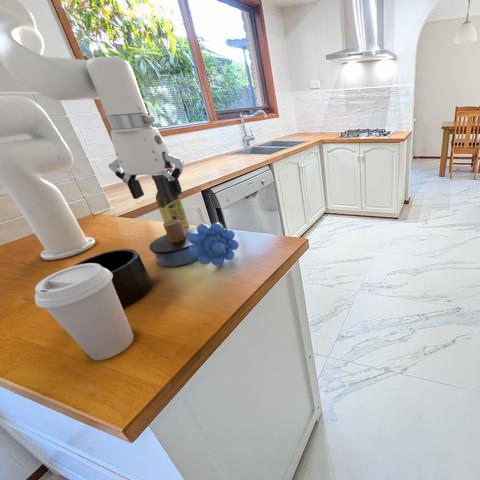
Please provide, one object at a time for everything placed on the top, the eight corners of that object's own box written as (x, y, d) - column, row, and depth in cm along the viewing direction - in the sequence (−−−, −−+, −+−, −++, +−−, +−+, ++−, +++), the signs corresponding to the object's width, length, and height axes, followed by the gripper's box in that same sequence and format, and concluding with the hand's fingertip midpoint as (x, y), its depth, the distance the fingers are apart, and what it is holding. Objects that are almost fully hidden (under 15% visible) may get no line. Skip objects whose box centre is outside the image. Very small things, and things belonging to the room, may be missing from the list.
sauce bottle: (182, 240, 89) (158, 177, 80) (165, 239, 90) (139, 177, 81) (196, 231, 95) (175, 170, 86) (180, 230, 96) (157, 171, 87)
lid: (138, 252, 75) (128, 231, 72) (181, 230, 86) (174, 210, 83) (177, 258, 71) (168, 236, 68) (217, 234, 82) (211, 214, 79)
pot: (71, 308, 62) (50, 275, 58) (128, 275, 73) (112, 246, 69) (110, 319, 58) (90, 285, 54) (164, 283, 69) (150, 252, 65)
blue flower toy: (204, 281, 68) (187, 236, 63) (193, 271, 72) (177, 228, 67) (249, 261, 75) (237, 218, 70) (237, 252, 80) (225, 212, 74)
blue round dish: (147, 264, 77) (140, 249, 75) (185, 242, 88) (180, 229, 86) (182, 270, 73) (176, 255, 71) (218, 247, 84) (213, 233, 81)
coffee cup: (70, 353, 51) (19, 284, 44) (130, 319, 58) (94, 255, 51) (90, 377, 46) (36, 304, 39) (153, 337, 53) (117, 269, 46)
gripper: (177, 119, 67) (199, 189, 75) (104, 123, 68) (134, 193, 76) (159, 122, 61) (185, 199, 69) (78, 127, 61) (113, 203, 69)
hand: (158, 196), depth 72 cm, fingers open, 9 cm apart
